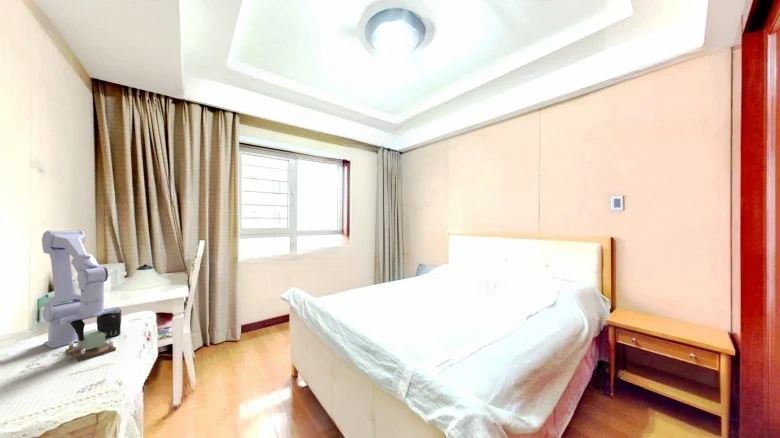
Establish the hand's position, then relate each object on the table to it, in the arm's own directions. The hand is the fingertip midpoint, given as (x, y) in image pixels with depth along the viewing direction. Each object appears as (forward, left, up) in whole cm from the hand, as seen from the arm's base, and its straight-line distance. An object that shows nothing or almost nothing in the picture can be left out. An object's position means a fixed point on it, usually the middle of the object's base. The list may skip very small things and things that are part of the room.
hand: (91, 337), depth 97 cm
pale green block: (0, 0, -3) cm, 3 cm away
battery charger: (-11, +8, -5) cm, 15 cm away
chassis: (0, 0, -5) cm, 5 cm away
